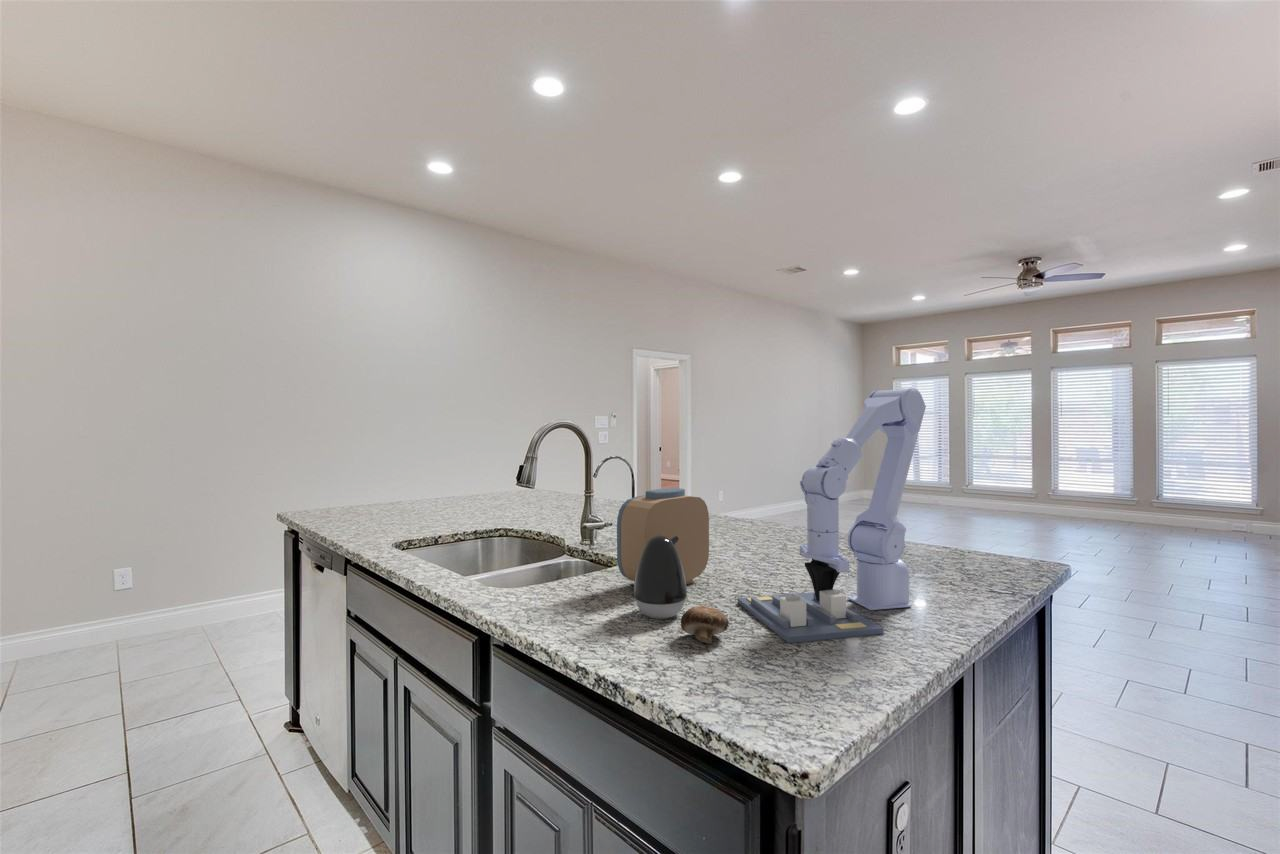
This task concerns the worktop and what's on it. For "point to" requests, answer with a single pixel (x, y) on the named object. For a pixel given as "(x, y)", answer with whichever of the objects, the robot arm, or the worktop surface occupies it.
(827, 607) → the tab
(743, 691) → the worktop surface
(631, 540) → the alarm clock
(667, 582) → the pump dispenser
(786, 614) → the tab
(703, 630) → the mushroom
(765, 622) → the switch board
